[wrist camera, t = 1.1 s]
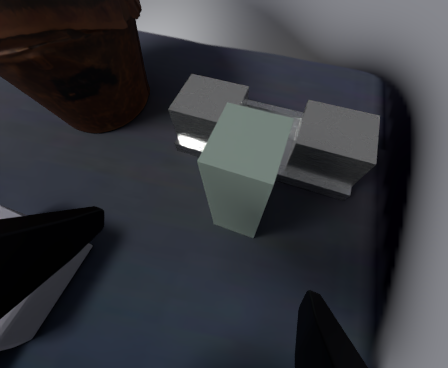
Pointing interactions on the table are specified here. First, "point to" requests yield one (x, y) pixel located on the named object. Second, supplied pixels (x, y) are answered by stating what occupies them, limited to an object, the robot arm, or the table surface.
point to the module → (242, 165)
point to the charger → (35, 299)
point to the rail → (297, 141)
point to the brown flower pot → (76, 59)
